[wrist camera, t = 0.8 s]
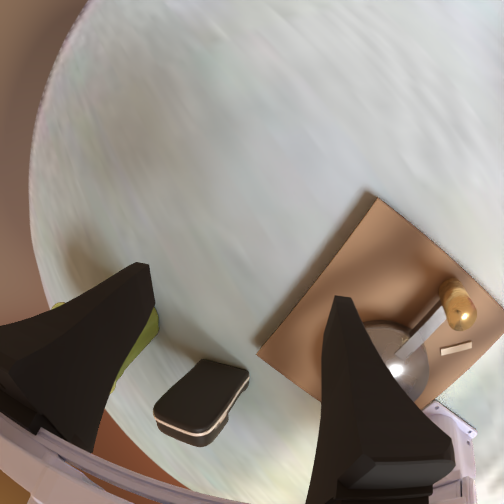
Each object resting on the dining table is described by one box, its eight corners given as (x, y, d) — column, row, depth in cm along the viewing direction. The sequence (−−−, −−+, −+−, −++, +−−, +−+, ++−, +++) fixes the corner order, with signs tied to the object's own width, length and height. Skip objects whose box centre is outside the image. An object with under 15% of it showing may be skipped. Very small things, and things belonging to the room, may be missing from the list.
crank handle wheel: (378, 417, 29) (373, 451, 24) (308, 367, 31) (293, 399, 26) (492, 312, 22) (509, 340, 17) (418, 244, 24) (426, 262, 19)
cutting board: (509, 314, 23) (514, 322, 21) (379, 431, 31) (377, 441, 30) (377, 197, 26) (377, 199, 24) (261, 347, 34) (255, 355, 33)
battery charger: (202, 379, 39) (151, 433, 29) (200, 356, 38) (144, 409, 28) (252, 393, 37) (207, 457, 27) (252, 369, 36) (203, 434, 26)
